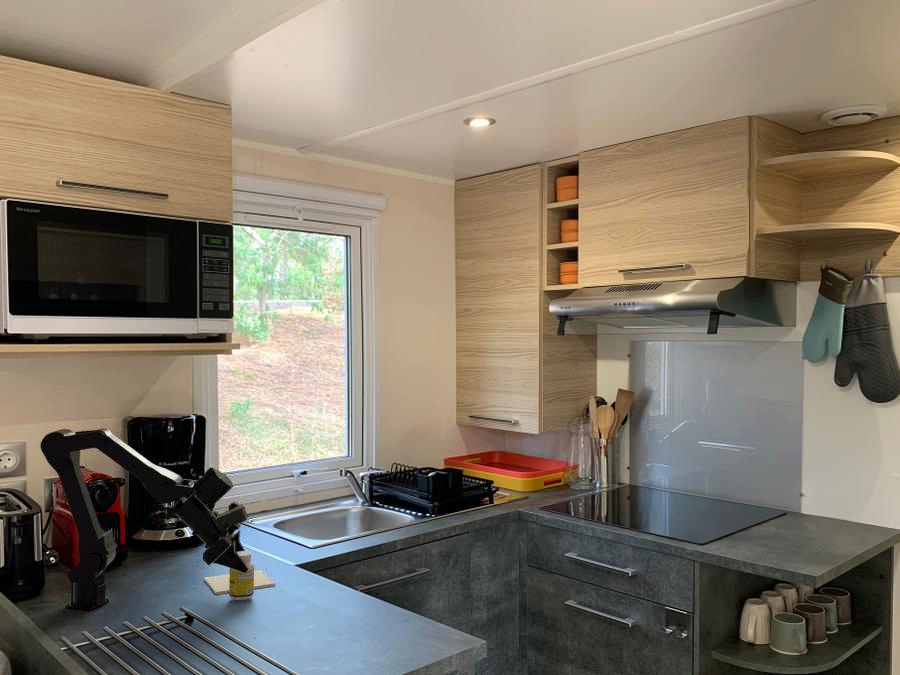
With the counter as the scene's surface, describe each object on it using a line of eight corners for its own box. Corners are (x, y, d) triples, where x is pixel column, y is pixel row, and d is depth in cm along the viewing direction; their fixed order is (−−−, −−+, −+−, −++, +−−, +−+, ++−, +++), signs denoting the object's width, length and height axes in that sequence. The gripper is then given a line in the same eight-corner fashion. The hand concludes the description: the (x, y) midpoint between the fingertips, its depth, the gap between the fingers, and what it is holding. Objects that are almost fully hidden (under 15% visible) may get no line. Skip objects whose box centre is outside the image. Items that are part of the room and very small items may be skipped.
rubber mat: (215, 594, 175) (215, 592, 175) (204, 580, 186) (204, 577, 186) (275, 585, 182) (275, 583, 182) (260, 572, 193) (260, 569, 193)
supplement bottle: (227, 593, 174) (229, 550, 174) (252, 591, 176) (253, 549, 176) (229, 601, 169) (231, 557, 169) (254, 599, 171) (256, 555, 171)
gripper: (220, 502, 163) (271, 553, 164) (232, 485, 181) (278, 531, 183) (180, 539, 161) (232, 590, 163) (196, 518, 180) (243, 565, 181)
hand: (248, 567), depth 173 cm, fingers closed on supplement bottle, 5 cm apart
